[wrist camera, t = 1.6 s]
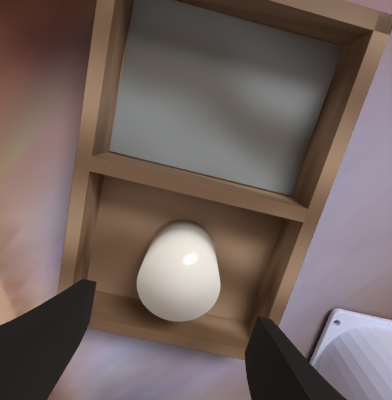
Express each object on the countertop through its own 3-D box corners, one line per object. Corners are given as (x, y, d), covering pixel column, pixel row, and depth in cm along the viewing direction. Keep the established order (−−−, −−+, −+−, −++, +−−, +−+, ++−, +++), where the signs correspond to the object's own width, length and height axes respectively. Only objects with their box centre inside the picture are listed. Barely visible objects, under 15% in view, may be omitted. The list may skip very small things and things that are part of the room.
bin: (253, 326, 21) (264, 363, 18) (77, 288, 20) (54, 320, 17) (354, 39, 16) (396, 16, 13) (126, -26, 15) (106, -70, 12)
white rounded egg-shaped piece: (205, 284, 19) (208, 328, 15) (144, 271, 19) (129, 312, 15) (222, 227, 18) (230, 257, 14) (157, 212, 18) (145, 238, 14)
